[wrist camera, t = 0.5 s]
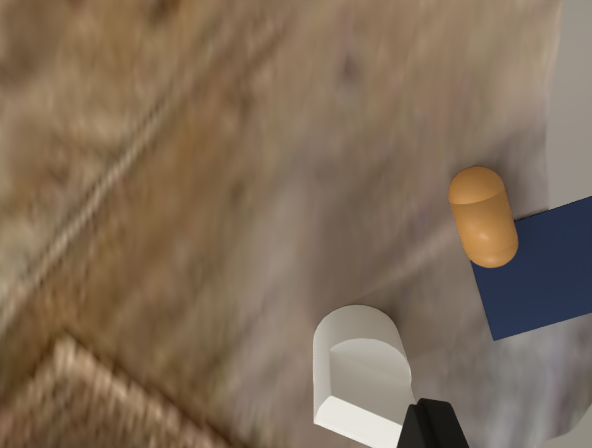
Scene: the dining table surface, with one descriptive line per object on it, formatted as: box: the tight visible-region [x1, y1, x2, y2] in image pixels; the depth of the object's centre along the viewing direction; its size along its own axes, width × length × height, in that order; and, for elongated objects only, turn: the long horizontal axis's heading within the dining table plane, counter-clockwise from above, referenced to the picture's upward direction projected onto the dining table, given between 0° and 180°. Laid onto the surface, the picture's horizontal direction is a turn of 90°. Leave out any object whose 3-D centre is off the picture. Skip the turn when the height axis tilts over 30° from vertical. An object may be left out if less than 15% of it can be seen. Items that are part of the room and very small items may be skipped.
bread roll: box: [448, 166, 518, 268], centre depth 40 cm, size 9×5×5 cm, turn 21°
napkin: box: [470, 196, 592, 341], centre depth 44 cm, size 12×12×1 cm
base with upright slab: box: [313, 305, 416, 448], centre depth 42 cm, size 9×9×12 cm
